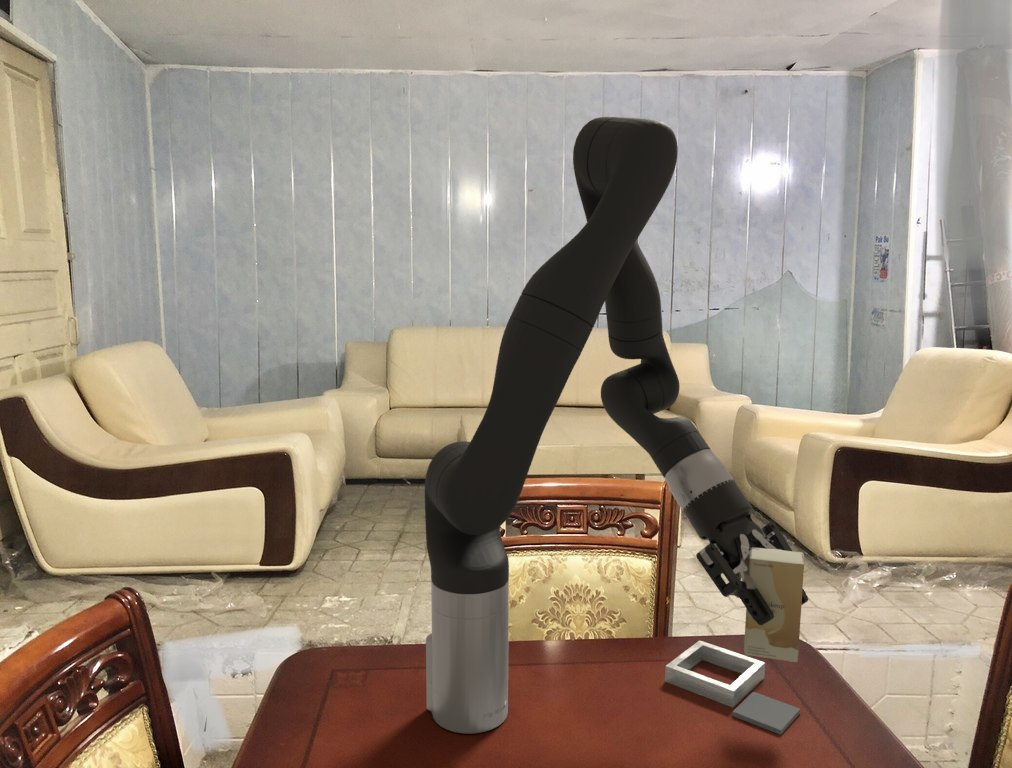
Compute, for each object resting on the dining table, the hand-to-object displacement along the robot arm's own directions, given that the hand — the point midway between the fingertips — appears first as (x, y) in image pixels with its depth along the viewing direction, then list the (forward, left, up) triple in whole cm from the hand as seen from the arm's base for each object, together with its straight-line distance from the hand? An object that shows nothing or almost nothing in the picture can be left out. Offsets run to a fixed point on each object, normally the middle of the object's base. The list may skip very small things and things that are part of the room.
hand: (785, 612), depth 95 cm
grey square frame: (-10, +4, -14) cm, 17 cm away
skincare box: (-1, 0, -6) cm, 6 cm away
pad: (-2, 0, -14) cm, 14 cm away
